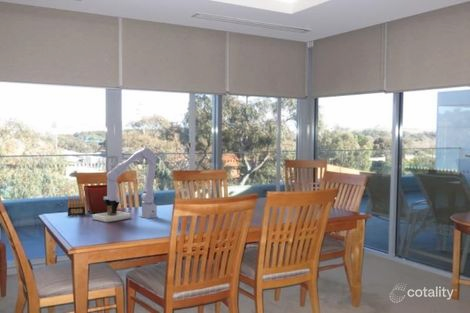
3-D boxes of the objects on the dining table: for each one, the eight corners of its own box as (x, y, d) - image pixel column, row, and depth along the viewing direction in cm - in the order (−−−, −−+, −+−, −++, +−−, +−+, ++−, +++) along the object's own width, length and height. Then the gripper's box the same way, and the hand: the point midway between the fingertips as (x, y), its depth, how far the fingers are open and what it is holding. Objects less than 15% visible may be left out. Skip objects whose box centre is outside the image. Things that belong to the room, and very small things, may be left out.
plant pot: (83, 209, 314) (83, 185, 313) (111, 207, 322) (111, 184, 322) (87, 214, 297) (87, 188, 296) (117, 212, 305) (117, 187, 305)
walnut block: (116, 215, 282) (116, 205, 281) (111, 215, 279) (111, 206, 278) (112, 214, 284) (112, 204, 284) (107, 215, 281) (107, 205, 281)
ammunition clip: (67, 215, 291) (67, 196, 290) (67, 214, 293) (67, 196, 292) (85, 214, 295) (85, 196, 294) (85, 214, 296) (85, 195, 296)
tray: (130, 218, 284) (130, 213, 284) (106, 222, 270) (106, 217, 270) (117, 215, 293) (117, 210, 293) (92, 219, 279) (92, 214, 279)
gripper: (99, 190, 282) (99, 211, 283) (113, 192, 273) (113, 214, 274) (109, 189, 287) (108, 210, 288) (123, 191, 278) (123, 213, 279)
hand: (111, 212), depth 281 cm, fingers closed on walnut block, 4 cm apart
